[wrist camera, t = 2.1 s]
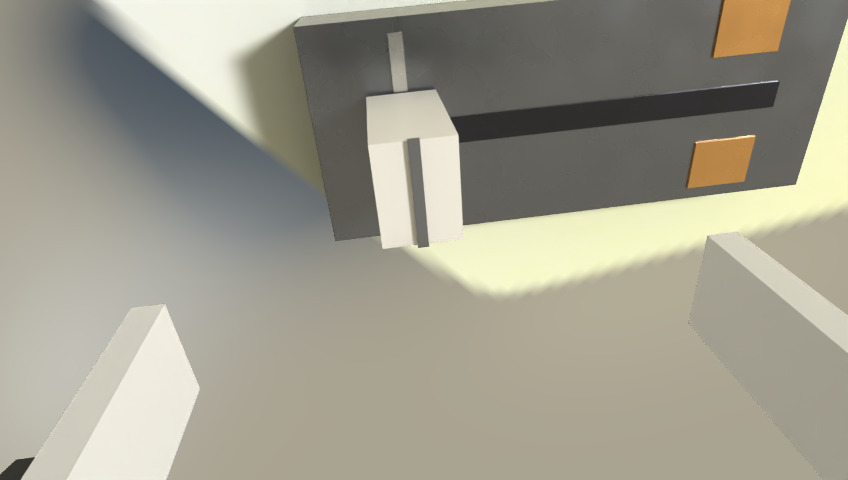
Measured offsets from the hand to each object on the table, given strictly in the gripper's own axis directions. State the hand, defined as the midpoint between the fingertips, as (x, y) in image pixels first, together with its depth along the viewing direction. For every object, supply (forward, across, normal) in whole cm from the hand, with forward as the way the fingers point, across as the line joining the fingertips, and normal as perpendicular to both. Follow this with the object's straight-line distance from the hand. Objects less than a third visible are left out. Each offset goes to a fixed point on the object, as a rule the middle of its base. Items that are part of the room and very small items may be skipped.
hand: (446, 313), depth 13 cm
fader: (+12, 0, 0) cm, 12 cm away
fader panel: (+16, +8, 0) cm, 17 cm away
